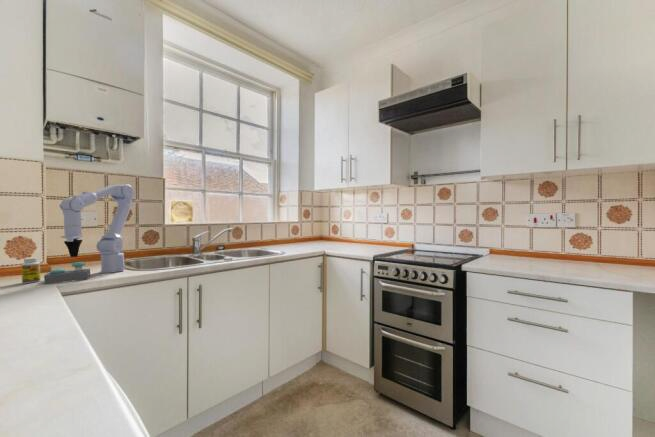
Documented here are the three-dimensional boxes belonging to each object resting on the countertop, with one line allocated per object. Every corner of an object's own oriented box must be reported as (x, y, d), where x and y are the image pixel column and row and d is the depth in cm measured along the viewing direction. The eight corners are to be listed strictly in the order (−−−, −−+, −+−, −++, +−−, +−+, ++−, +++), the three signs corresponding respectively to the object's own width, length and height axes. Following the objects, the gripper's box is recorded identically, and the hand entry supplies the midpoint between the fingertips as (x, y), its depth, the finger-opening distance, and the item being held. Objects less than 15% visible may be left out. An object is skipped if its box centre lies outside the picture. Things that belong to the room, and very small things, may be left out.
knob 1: (66, 278, 133) (65, 268, 133) (63, 280, 129) (63, 270, 129) (52, 279, 130) (51, 269, 130) (49, 282, 126) (49, 271, 126)
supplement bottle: (20, 284, 124) (19, 259, 123) (24, 281, 128) (23, 257, 128) (38, 282, 127) (38, 258, 126) (42, 280, 131) (41, 256, 131)
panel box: (90, 276, 138) (90, 268, 138) (87, 279, 132) (87, 271, 132) (49, 280, 131) (49, 272, 131) (44, 283, 124) (44, 275, 124)
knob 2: (86, 271, 136) (85, 261, 136) (84, 273, 132) (84, 263, 132) (73, 272, 134) (72, 262, 134) (70, 274, 130) (70, 264, 130)
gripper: (64, 225, 136) (65, 255, 136) (56, 226, 124) (57, 259, 124) (84, 224, 140) (85, 254, 140) (78, 226, 127) (79, 258, 128)
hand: (74, 256), depth 132 cm, fingers closed
